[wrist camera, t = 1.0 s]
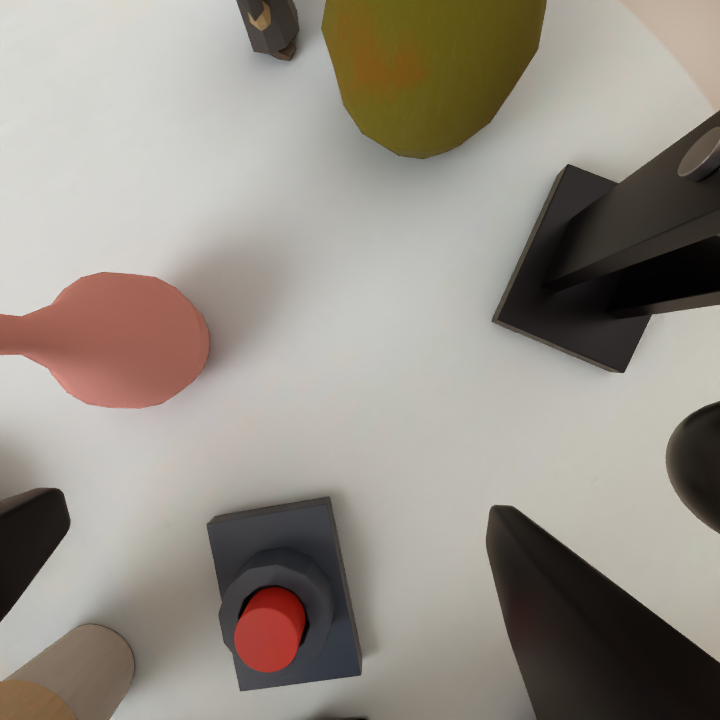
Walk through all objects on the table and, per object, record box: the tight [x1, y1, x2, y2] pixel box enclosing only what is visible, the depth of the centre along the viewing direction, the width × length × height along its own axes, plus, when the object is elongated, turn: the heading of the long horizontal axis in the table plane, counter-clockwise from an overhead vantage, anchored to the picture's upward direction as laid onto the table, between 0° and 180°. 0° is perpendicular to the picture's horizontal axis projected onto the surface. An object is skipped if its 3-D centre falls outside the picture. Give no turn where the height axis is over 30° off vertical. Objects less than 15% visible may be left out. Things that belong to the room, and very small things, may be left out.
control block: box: [207, 497, 362, 691], centre depth 22 cm, size 11×8×3 cm
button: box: [234, 587, 305, 673], centre depth 20 cm, size 4×4×2 cm
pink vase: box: [0, 272, 210, 409], centre depth 17 cm, size 8×8×12 cm
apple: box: [321, 0, 546, 159], centre depth 17 cm, size 10×10×11 cm
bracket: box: [492, 110, 720, 373], centre depth 15 cm, size 10×8×13 cm
